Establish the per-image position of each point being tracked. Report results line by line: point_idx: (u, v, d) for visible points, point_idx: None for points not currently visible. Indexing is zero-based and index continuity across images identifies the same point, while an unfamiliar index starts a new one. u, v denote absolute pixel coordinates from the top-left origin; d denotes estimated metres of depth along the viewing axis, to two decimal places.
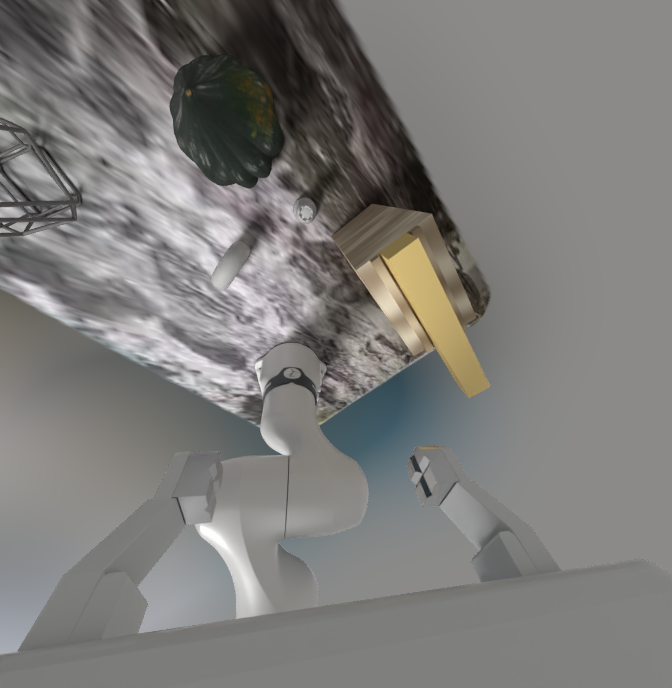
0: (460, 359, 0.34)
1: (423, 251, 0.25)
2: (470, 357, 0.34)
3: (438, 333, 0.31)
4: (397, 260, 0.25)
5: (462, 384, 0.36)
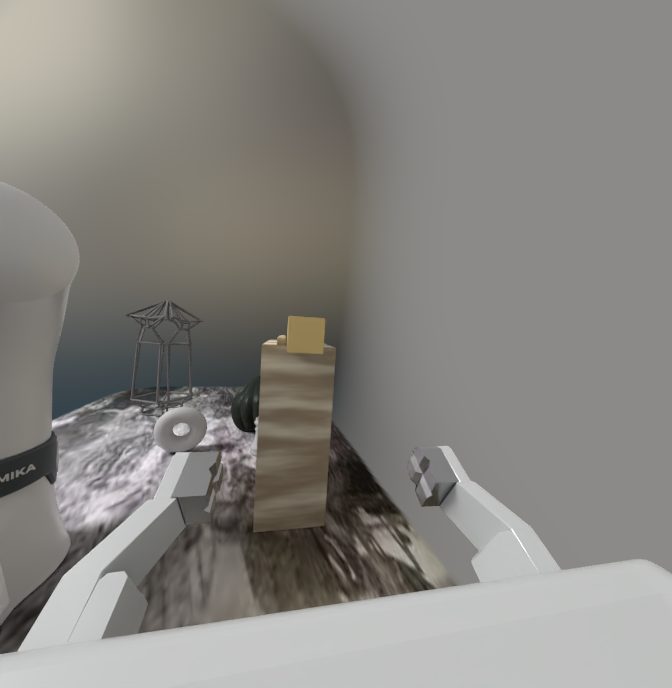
0: None
1: None
2: None
3: None
4: None
5: None
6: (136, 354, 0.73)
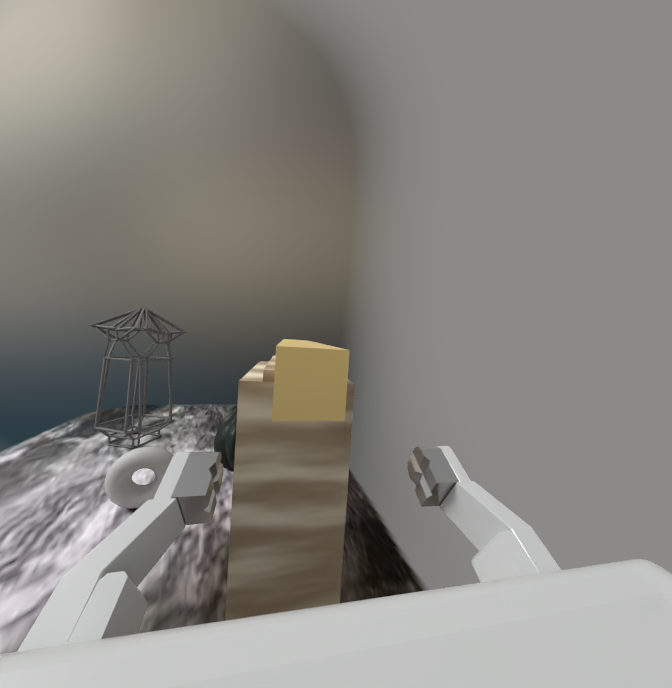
0: None
1: None
2: (317, 344, 0.19)
3: None
4: None
5: None
6: (103, 372, 0.61)
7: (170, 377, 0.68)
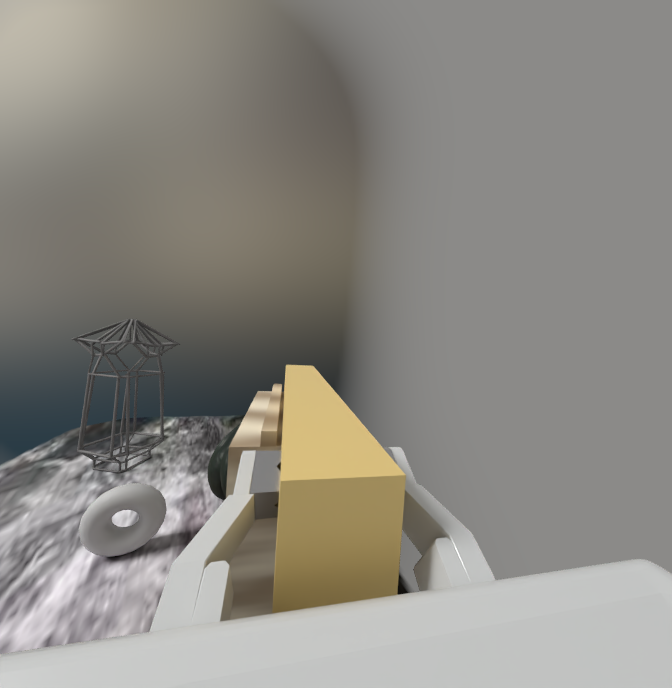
0: (311, 399, 0.15)
1: (313, 367, 0.31)
2: (334, 403, 0.14)
3: (294, 381, 0.20)
4: (292, 365, 0.31)
5: (287, 429, 0.10)
6: (87, 390, 0.56)
7: (161, 393, 0.63)
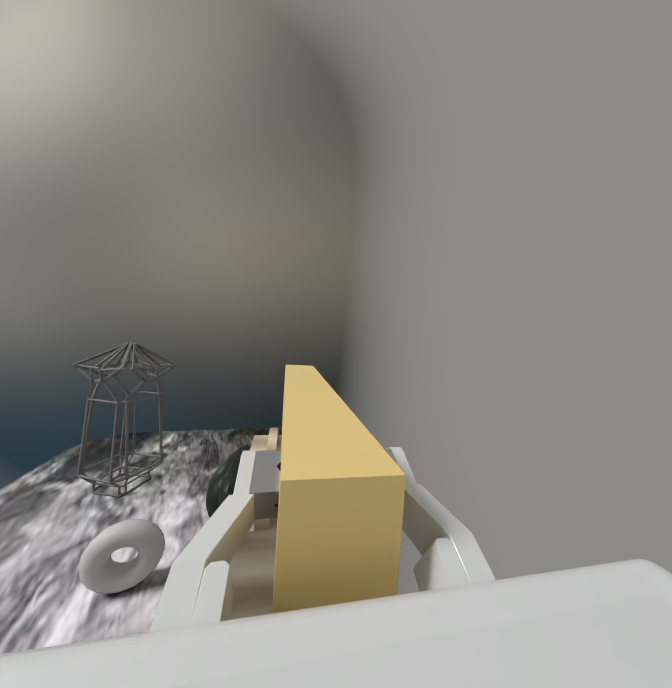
0: (311, 399, 0.15)
1: (313, 367, 0.31)
2: (334, 403, 0.14)
3: (294, 381, 0.20)
4: (291, 365, 0.31)
5: (287, 429, 0.10)
6: (86, 415, 0.56)
7: (160, 415, 0.64)
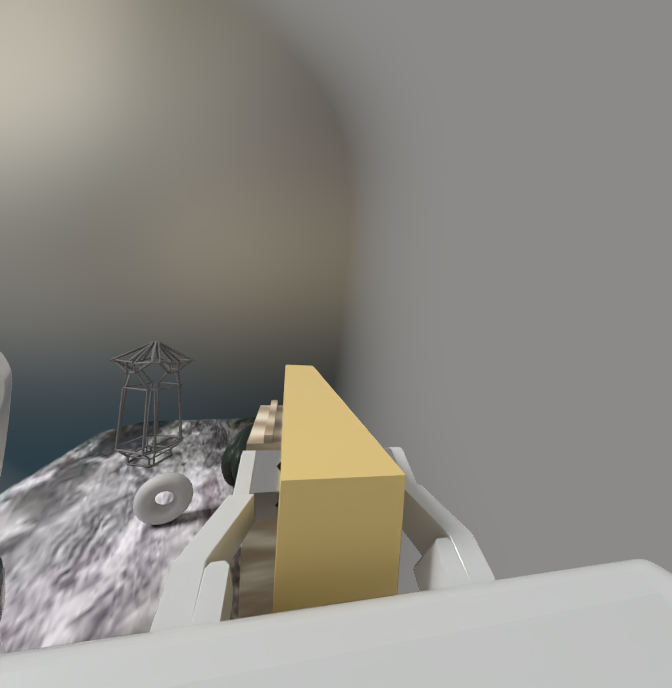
0: (311, 399, 0.15)
1: (313, 367, 0.31)
2: (334, 403, 0.14)
3: (294, 381, 0.20)
4: (291, 365, 0.31)
5: (287, 429, 0.10)
6: (121, 400, 0.69)
7: (180, 401, 0.76)
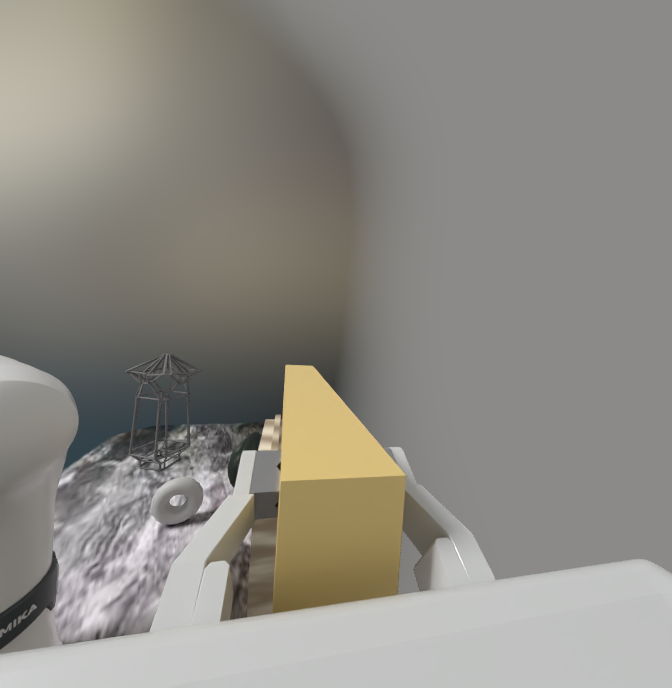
0: (311, 399, 0.15)
1: (312, 367, 0.31)
2: (334, 403, 0.14)
3: (293, 381, 0.20)
4: (291, 365, 0.31)
5: (287, 429, 0.10)
6: (135, 409, 0.74)
7: (188, 409, 0.82)
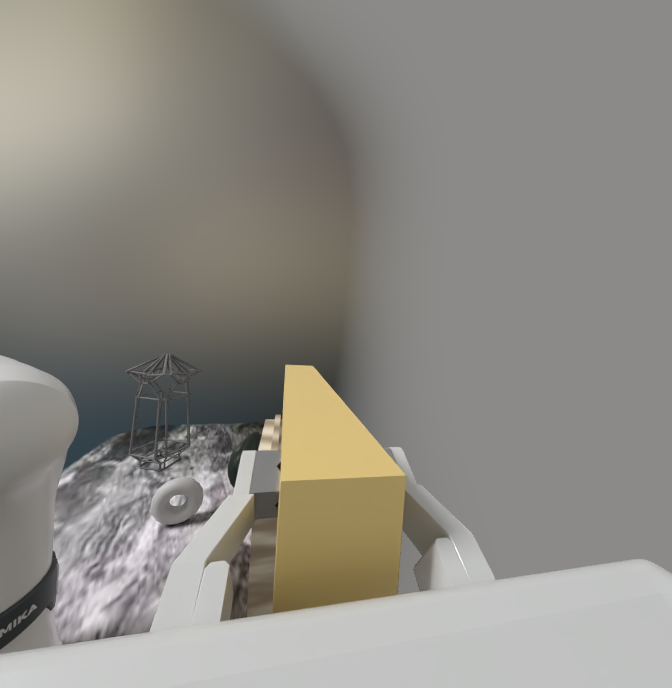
0: (310, 399, 0.15)
1: (312, 367, 0.31)
2: (334, 403, 0.14)
3: (293, 381, 0.20)
4: (291, 365, 0.31)
5: (287, 430, 0.10)
6: (135, 409, 0.74)
7: (188, 409, 0.82)
